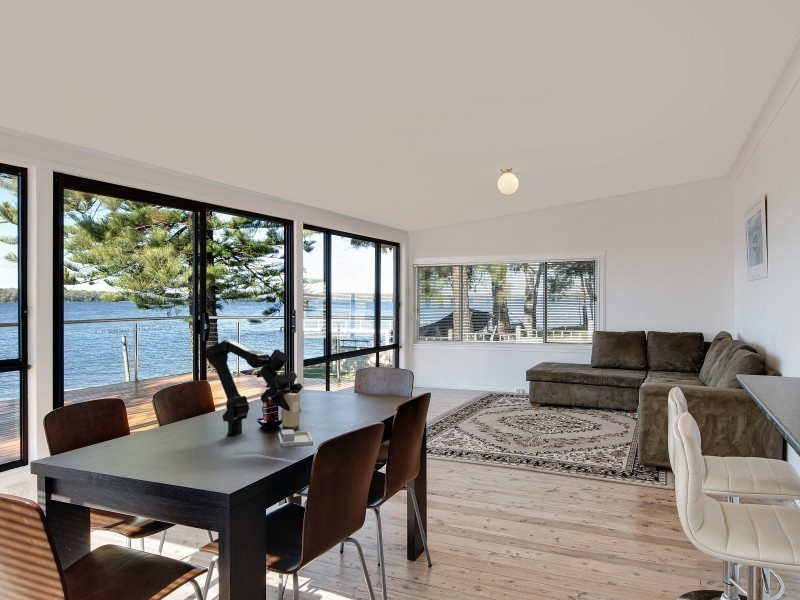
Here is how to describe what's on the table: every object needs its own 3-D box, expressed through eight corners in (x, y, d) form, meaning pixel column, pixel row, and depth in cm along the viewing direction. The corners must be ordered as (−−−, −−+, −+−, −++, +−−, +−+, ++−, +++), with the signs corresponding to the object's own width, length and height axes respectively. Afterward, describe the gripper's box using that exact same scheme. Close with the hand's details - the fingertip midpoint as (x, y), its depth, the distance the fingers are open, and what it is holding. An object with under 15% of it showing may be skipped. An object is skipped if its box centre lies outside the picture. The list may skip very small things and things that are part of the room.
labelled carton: (282, 425, 220) (282, 394, 220) (290, 423, 224) (290, 393, 224) (291, 427, 217) (291, 395, 217) (299, 424, 221) (299, 394, 221)
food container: (295, 434, 236) (294, 410, 237) (281, 433, 238) (280, 409, 238) (305, 427, 249) (305, 404, 249) (292, 427, 250) (292, 404, 250)
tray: (278, 437, 231) (278, 432, 231) (308, 435, 234) (308, 430, 234) (280, 448, 213) (280, 443, 213) (313, 446, 216) (313, 441, 216)
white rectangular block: (281, 436, 230) (281, 430, 230) (292, 435, 231) (292, 429, 231) (282, 440, 222) (282, 434, 222) (294, 440, 223) (294, 433, 223)
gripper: (266, 367, 215) (288, 399, 209) (299, 362, 231) (320, 392, 225) (251, 386, 219) (272, 418, 213) (284, 380, 235) (305, 410, 229)
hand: (293, 409), depth 220 cm, fingers closed on labelled carton, 4 cm apart
